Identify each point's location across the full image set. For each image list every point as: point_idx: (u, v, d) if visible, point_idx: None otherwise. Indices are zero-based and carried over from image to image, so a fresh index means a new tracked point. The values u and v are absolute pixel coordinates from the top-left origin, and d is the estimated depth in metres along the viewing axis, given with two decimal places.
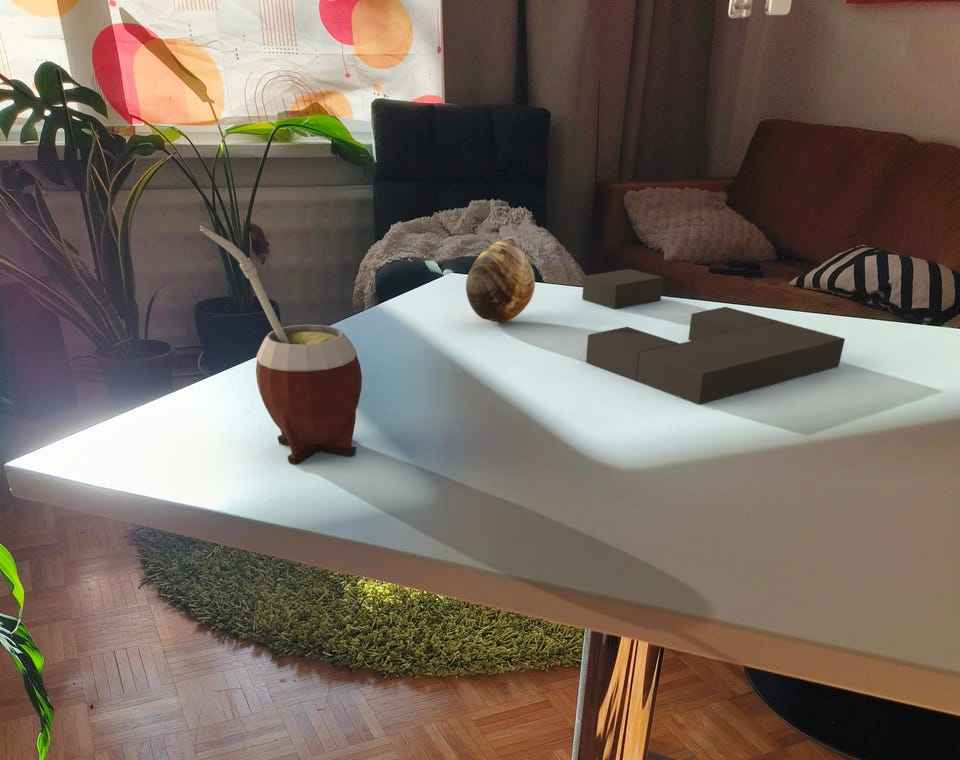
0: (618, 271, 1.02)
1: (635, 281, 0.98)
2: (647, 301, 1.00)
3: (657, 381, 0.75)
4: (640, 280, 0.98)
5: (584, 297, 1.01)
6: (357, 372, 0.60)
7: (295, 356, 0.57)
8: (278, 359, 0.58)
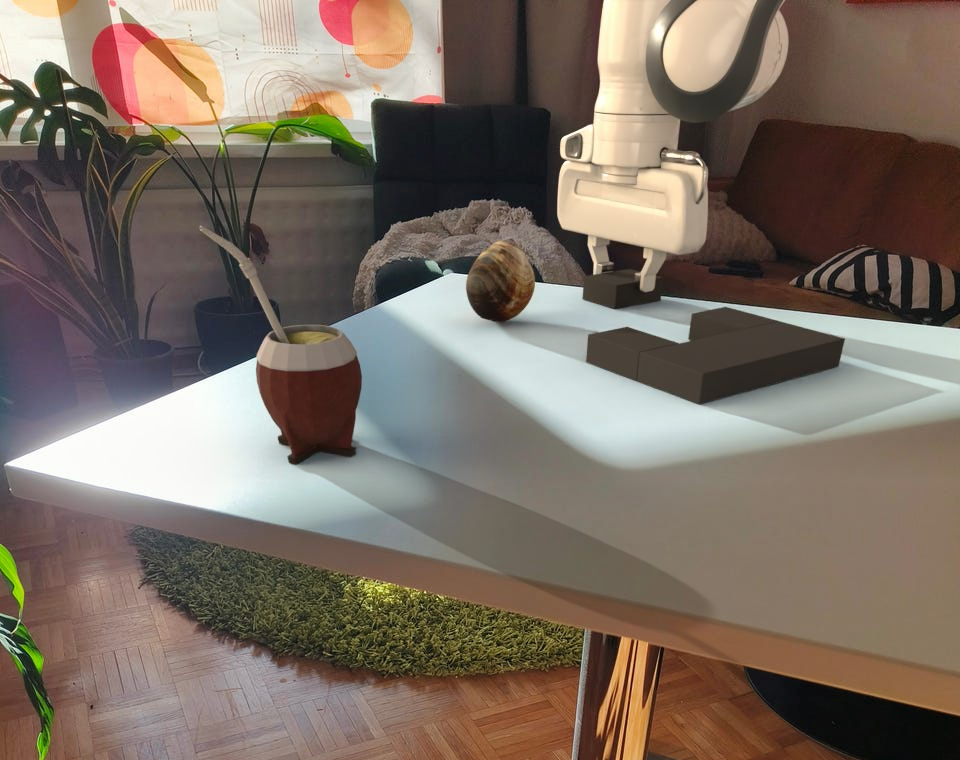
0: (618, 271, 1.02)
1: None
2: (647, 301, 1.00)
3: (657, 381, 0.75)
4: None
5: (584, 297, 1.01)
6: (357, 372, 0.60)
7: (295, 356, 0.57)
8: (278, 359, 0.58)
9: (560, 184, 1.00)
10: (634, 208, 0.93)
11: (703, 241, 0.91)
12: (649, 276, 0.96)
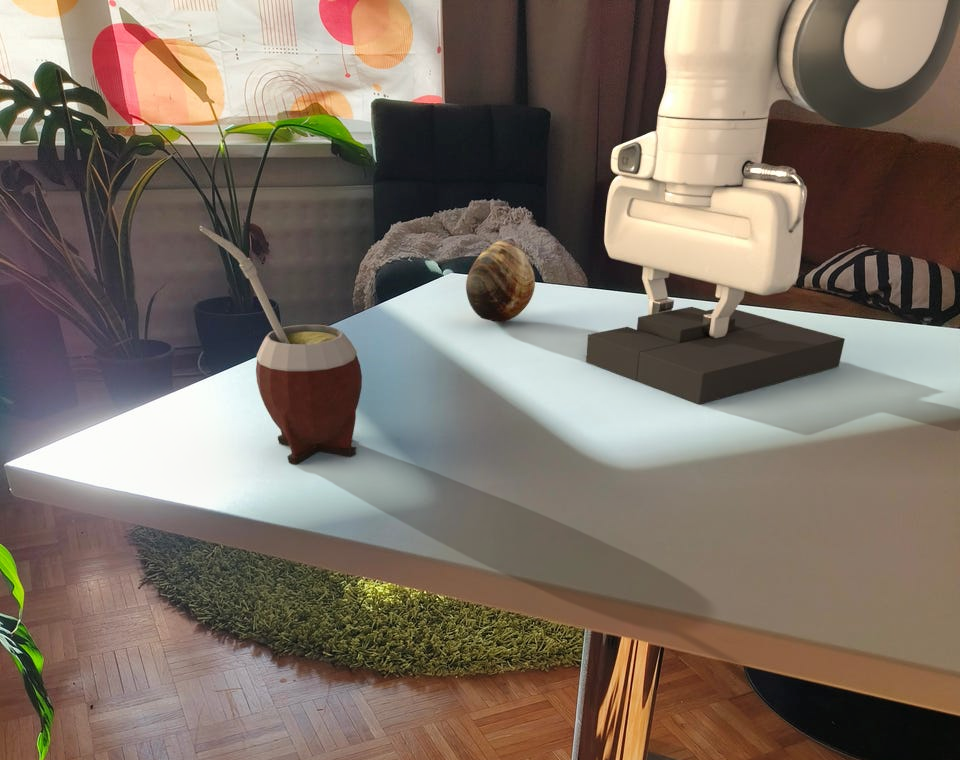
0: (679, 310, 0.84)
1: None
2: None
3: (657, 381, 0.75)
4: None
5: None
6: (357, 372, 0.60)
7: (295, 356, 0.57)
8: (278, 359, 0.58)
9: (609, 204, 0.82)
10: (706, 236, 0.75)
11: (795, 278, 0.72)
12: (721, 319, 0.78)
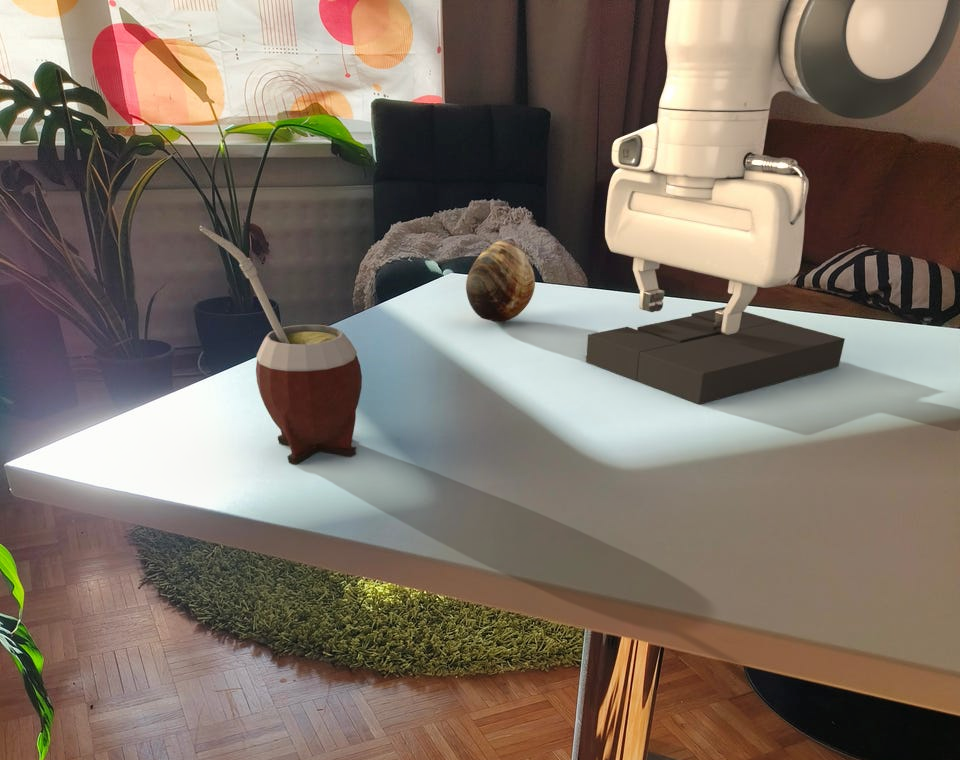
0: (678, 319, 0.84)
1: (702, 334, 0.80)
2: None
3: (657, 381, 0.75)
4: (708, 333, 0.80)
5: None
6: (357, 372, 0.60)
7: (295, 356, 0.57)
8: (278, 359, 0.58)
9: (609, 197, 0.81)
10: (707, 229, 0.74)
11: (796, 271, 0.72)
12: (734, 315, 0.77)
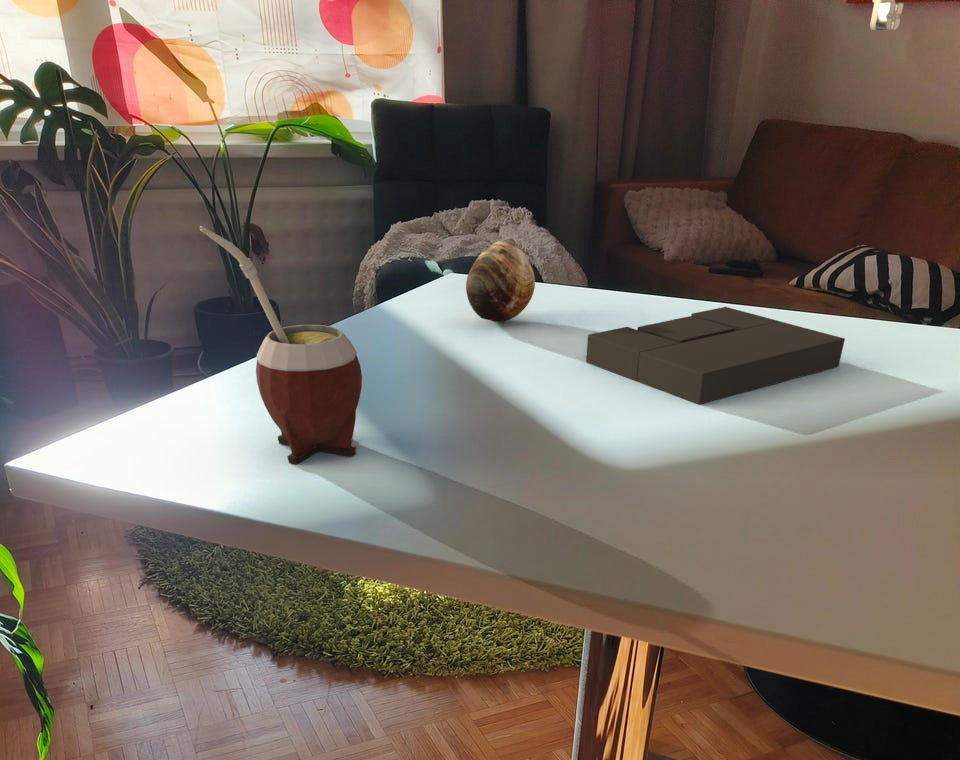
0: (678, 319, 0.84)
1: (702, 334, 0.80)
2: None
3: (657, 381, 0.75)
4: (708, 333, 0.80)
5: None
6: (357, 372, 0.60)
7: (295, 356, 0.57)
8: (278, 359, 0.58)
9: None
10: None
11: None
12: None
